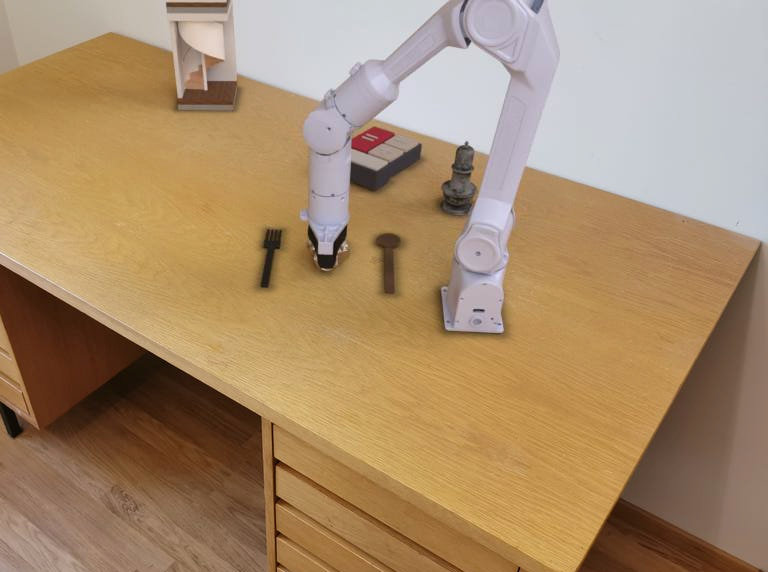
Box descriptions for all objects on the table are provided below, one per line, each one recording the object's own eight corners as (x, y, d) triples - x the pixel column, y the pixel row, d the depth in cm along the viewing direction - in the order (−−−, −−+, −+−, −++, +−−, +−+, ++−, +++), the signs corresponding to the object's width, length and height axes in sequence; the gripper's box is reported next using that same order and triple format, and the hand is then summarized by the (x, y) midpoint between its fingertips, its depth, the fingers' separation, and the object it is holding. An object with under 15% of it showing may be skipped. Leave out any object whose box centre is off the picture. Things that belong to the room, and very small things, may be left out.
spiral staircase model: (178, 110, 154) (156, -82, 130) (185, 88, 162) (165, -97, 138) (233, 110, 154) (221, -82, 130) (237, 88, 162) (226, -97, 138)
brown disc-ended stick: (401, 293, 109) (402, 290, 109) (377, 292, 110) (377, 289, 109) (399, 236, 120) (400, 233, 120) (377, 235, 120) (377, 232, 120)
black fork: (273, 287, 111) (273, 285, 110) (255, 287, 111) (255, 285, 111) (282, 231, 122) (282, 229, 121) (266, 230, 122) (266, 228, 121)
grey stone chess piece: (473, 217, 124) (485, 151, 116) (437, 214, 125) (447, 148, 116) (474, 199, 128) (486, 133, 120) (439, 196, 129) (449, 130, 121)
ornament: (315, 239, 120) (315, 220, 117) (356, 248, 118) (357, 228, 115) (297, 267, 114) (297, 247, 112) (340, 276, 112) (340, 257, 110)
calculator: (423, 140, 136) (377, 168, 127) (420, 161, 139) (375, 191, 130) (373, 123, 141) (326, 149, 132) (371, 144, 144) (324, 172, 135)
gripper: (303, 159, 108) (303, 237, 118) (295, 213, 98) (296, 295, 107) (352, 161, 108) (348, 239, 117) (349, 215, 97) (345, 297, 107)
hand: (326, 266), depth 112 cm, fingers closed
